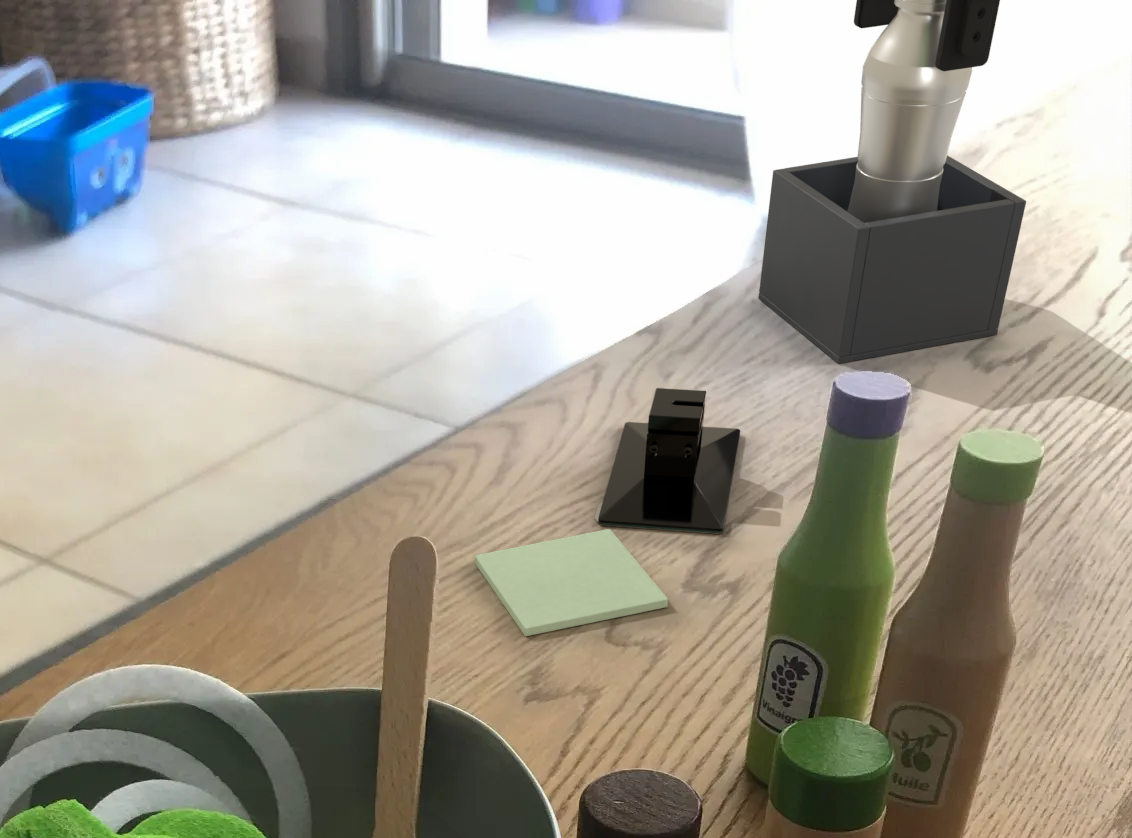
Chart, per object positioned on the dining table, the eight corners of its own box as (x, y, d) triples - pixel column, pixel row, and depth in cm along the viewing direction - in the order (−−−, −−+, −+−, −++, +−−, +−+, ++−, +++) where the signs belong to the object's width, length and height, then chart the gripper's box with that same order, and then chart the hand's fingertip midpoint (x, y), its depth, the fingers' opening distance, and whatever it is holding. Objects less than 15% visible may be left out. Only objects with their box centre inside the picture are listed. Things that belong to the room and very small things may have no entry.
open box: (907, 272, 116) (930, 144, 110) (997, 334, 108) (1026, 200, 102) (757, 298, 113) (772, 169, 108) (838, 363, 105) (858, 228, 100)
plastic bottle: (865, 282, 114) (919, -51, 99) (946, 310, 110) (1014, -33, 96) (804, 309, 111) (851, -30, 97) (885, 338, 107) (946, -10, 93)
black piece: (722, 536, 91) (731, 458, 87) (592, 527, 92) (595, 449, 89) (740, 433, 99) (748, 358, 96) (620, 426, 101) (624, 352, 97)
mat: (609, 536, 91) (610, 528, 91) (668, 607, 86) (668, 598, 85) (474, 563, 90) (474, 555, 89) (525, 636, 84) (525, 628, 84)
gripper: (1138, -301, 82) (1053, 76, 94) (955, -337, 94) (901, 2, 106) (1005, -287, 80) (936, 94, 92) (837, -325, 92) (795, 17, 104)
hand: (917, 45), depth 99 cm, fingers open, 9 cm apart
